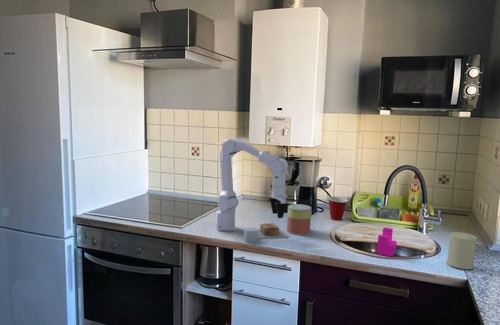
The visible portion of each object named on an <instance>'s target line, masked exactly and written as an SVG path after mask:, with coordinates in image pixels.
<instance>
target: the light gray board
mask: <svg viewBox="0 0 500 325" xmlns="http://www.w3.org/2000/svg"><path fill="white" fill-rule="evenodd" d="M256 229H257V231H258V237H257V240H258V239H259V240H260V239H261V240H262V239H281V238H283V239H285V238H289V236H288V235H287V234H286V233H285V232H284V231H283V230H281V228H280V227H279V235H265V236H264V235H263V234H262V233H261V231H260V228H256Z"/></svg>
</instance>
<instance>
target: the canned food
mask: <svg viewBox="0 0 500 325" xmlns="http://www.w3.org/2000/svg"><path fill="white" fill-rule="evenodd" d="M311 219H312V206H310V205H306V204H301V203H298V204H297V203H294V204H293V203H292V204H288V206H287V220H286V223H287V224H286V232H287V233H288V234H290V235H296V236H305V235H309V234H310V233H311V223H312V222H311V221H312V220H311Z"/></svg>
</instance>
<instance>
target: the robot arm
mask: <svg viewBox="0 0 500 325" xmlns="http://www.w3.org/2000/svg"><path fill="white" fill-rule="evenodd" d="M241 151H242V152H245V153H247V154H249V155H252V156H253V157H255V158H257V159H258V162H259V163H261V164H262V165H265V166H267V168H268V167H269V168H270V170H271V172H272V184H271V185H272V188H271V189H272V190H271V197H268V201H269V202H270V205H271V206H270V207H271V212H272V214H275V215H276V216H277V219H283V217H284V215H285V212H286V209H287V208H288V206H289V203H288V202H287V201H286V200H287V199H286V198H288V195H287V194H286V174H287V171H286V170H288V168H289V163H288V161H287V160H286V159H285V158H280V157H279V155H274V154H272V153H271V151H270V150H263V151H261V150H260V149H258V148H257V147H255V146H253V145H252V144H250V143H249V142H247V140H244V139H242V138H240V137H238V138H237V137H236V138H227V139H225V140H224V141H223V142H222V143H221V150H220V152H219V168H220V181H221V184H220V185H221V192H220V194H219V195H218V201H217V207H218V208H217V209H218V210H216V211H215V229H216V230H217V232H221V231H222V232H224V231H225V232H226V231H237V230H238V229H237V227H236V208H237V207H238V205H239V199H238V198H237V193H236V192H235V191H234V183H233V182H234V181H233V166H232V165H233V164H232V158H233V157H234V156H235V155H236V154H238V153H239V152H240V153H241Z"/></svg>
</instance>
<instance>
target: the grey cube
mask: <svg viewBox="0 0 500 325" xmlns="http://www.w3.org/2000/svg"><path fill="white" fill-rule="evenodd" d="M257 229H258V228H256V227H244V228H243V239H244V241H245V243H253V242H254V243H256V242H258V231H257Z"/></svg>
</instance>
